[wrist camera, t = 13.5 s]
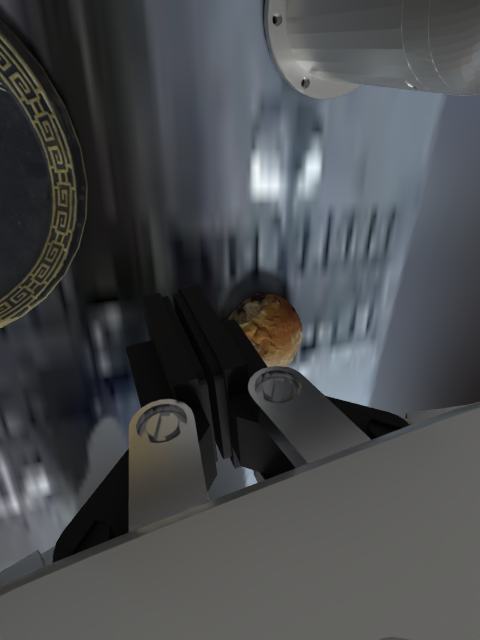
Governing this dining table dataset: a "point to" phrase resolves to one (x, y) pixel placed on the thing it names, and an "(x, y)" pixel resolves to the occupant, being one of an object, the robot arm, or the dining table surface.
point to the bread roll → (270, 327)
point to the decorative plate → (35, 181)
